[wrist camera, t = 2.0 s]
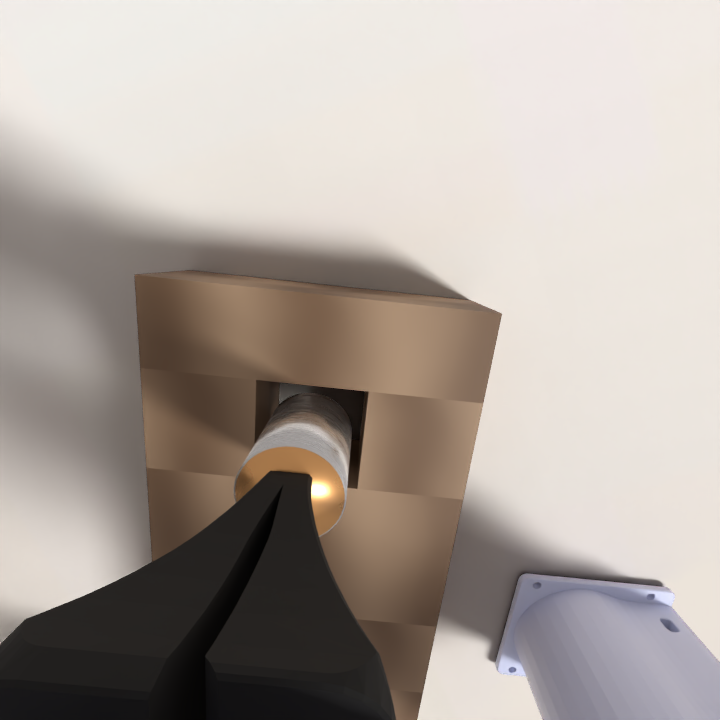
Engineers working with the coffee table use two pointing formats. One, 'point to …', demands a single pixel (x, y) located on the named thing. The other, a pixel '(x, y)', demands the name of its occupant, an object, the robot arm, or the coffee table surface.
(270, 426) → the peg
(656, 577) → the coffee table surface
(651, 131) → the coffee table surface
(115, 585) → the robot arm
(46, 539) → the coffee table surface
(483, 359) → the socket block
